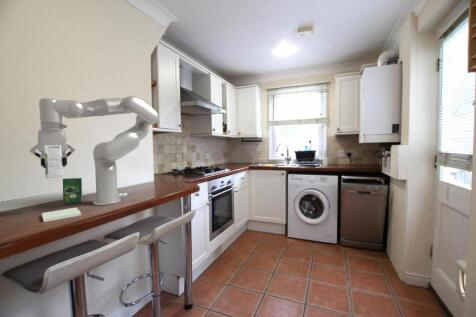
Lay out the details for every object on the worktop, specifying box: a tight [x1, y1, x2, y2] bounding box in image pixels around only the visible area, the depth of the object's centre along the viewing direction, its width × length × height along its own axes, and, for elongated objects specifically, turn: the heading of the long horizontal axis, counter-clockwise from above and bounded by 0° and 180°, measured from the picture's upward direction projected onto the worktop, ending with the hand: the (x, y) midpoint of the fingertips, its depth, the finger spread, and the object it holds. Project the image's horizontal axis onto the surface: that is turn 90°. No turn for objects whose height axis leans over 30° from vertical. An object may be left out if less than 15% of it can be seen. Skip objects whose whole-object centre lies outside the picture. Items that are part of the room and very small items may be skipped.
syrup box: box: [44, 145, 64, 179], centre depth 99 cm, size 6×6×14 cm
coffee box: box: [62, 177, 83, 205], centre depth 115 cm, size 8×3×13 cm, turn 117°
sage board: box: [41, 207, 82, 223], centre depth 94 cm, size 12×11×1 cm
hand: (54, 166), depth 99 cm, fingers closed on syrup box, 6 cm apart
